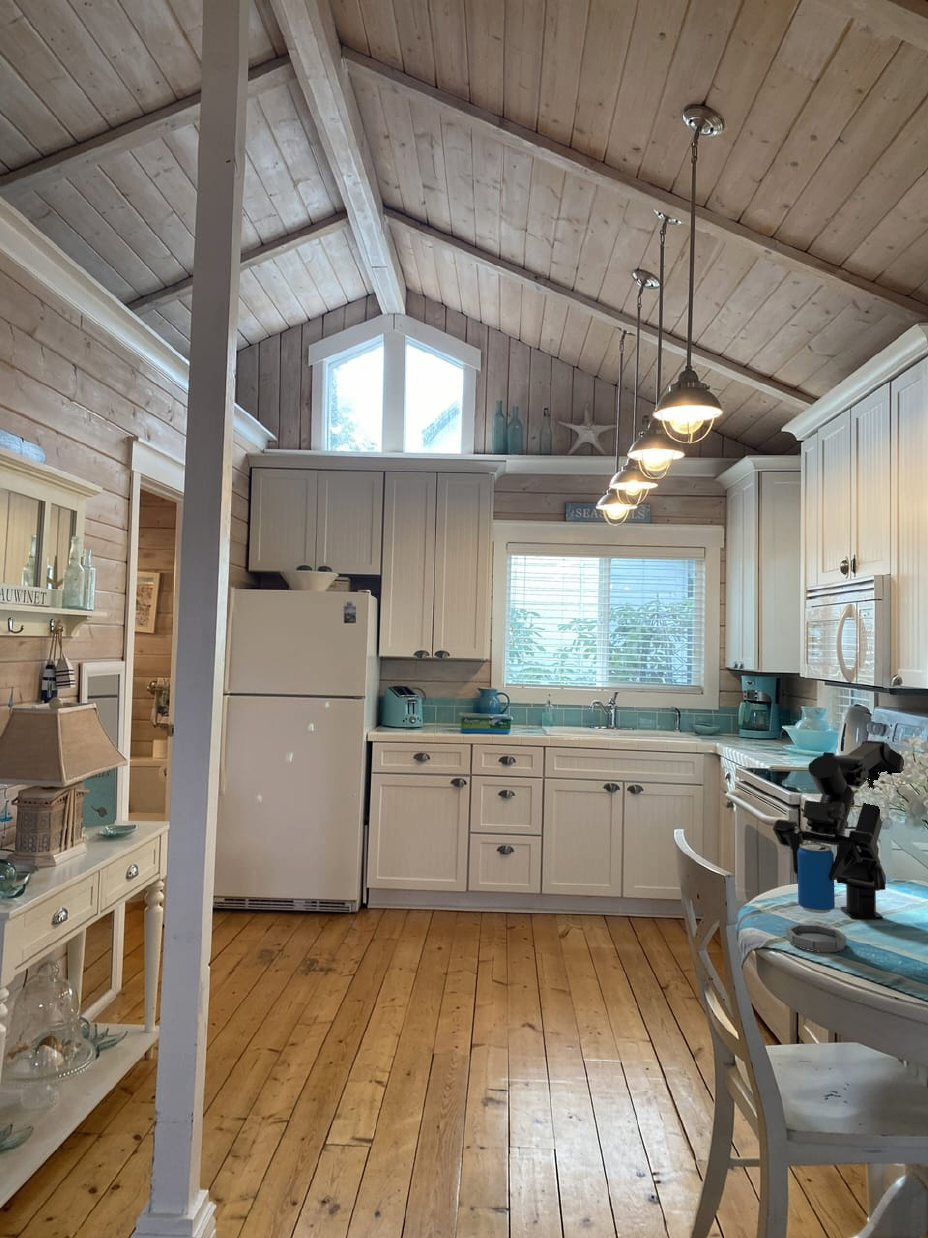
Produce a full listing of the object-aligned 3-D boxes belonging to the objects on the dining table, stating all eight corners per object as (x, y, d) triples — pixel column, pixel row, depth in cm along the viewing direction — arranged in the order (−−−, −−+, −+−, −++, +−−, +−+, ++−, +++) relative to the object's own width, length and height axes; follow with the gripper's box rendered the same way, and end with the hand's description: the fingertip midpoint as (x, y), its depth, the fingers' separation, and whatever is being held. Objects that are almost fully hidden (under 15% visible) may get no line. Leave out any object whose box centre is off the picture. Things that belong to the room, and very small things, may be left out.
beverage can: (835, 916, 157) (834, 851, 157) (798, 912, 159) (797, 848, 160) (834, 906, 163) (832, 844, 163) (798, 902, 165) (797, 841, 166)
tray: (781, 933, 166) (781, 923, 166) (832, 935, 166) (832, 925, 166) (797, 952, 156) (797, 941, 156) (852, 953, 156) (852, 942, 156)
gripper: (776, 779, 171) (752, 843, 163) (872, 790, 158) (852, 860, 150) (792, 812, 177) (770, 875, 168) (887, 825, 164) (868, 895, 155)
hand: (813, 876), depth 160 cm, fingers closed on beverage can, 6 cm apart
